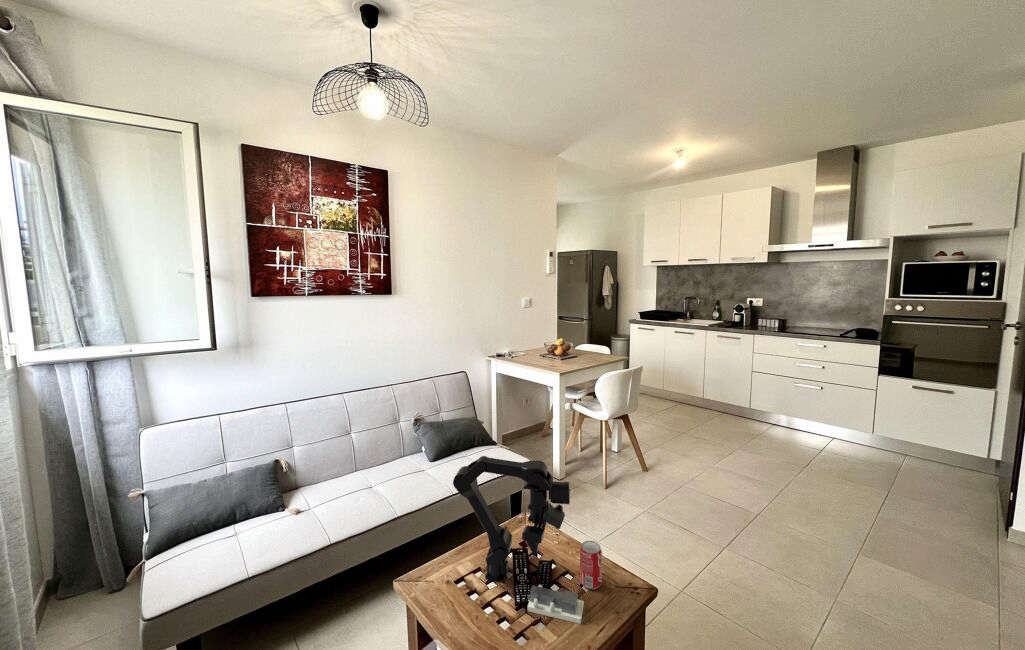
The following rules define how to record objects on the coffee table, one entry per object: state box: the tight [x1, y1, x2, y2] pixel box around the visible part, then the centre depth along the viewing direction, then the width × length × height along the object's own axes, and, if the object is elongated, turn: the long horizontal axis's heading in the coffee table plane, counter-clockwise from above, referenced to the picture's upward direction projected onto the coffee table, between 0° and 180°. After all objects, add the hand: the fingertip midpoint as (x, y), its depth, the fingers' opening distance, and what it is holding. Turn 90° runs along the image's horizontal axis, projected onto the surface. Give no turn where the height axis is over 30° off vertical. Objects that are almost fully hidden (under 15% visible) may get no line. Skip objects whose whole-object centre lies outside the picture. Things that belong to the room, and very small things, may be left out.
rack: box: [526, 584, 585, 625], centre depth 124 cm, size 16×7×4 cm, turn 73°
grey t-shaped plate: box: [529, 585, 579, 615], centre depth 125 cm, size 14×5×3 cm, turn 73°
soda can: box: [579, 539, 603, 590], centre depth 134 cm, size 7×7×13 cm
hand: (538, 545), depth 136 cm, fingers open, 9 cm apart
